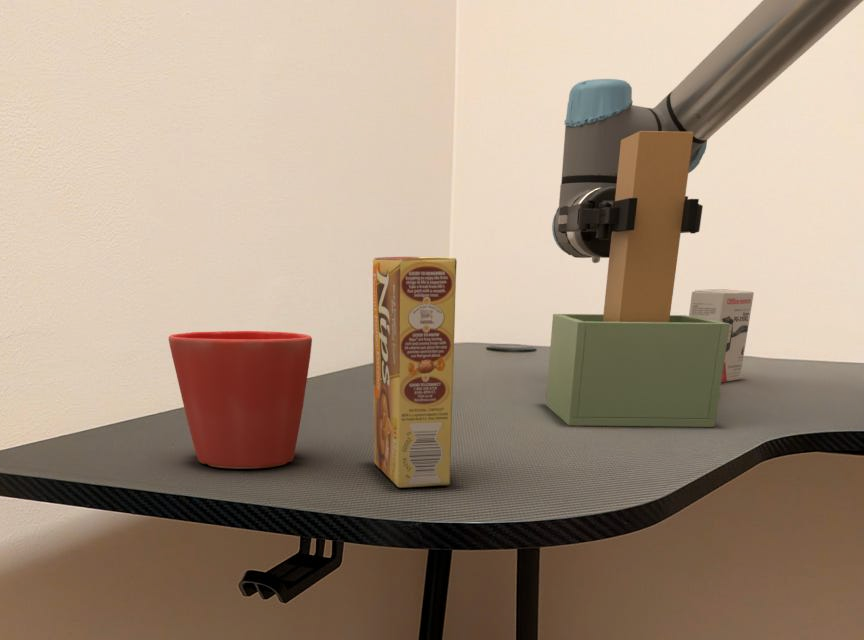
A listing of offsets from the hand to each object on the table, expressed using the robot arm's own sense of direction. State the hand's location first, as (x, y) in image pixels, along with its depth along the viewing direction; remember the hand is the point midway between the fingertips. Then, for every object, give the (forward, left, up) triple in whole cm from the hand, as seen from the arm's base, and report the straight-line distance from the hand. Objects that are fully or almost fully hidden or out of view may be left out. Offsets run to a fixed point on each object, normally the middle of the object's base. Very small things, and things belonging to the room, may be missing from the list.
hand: (662, 214), depth 84 cm
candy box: (+24, +25, -19) cm, 40 cm away
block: (0, -5, -10) cm, 11 cm away
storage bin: (0, -5, -19) cm, 20 cm away
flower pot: (+37, +20, -19) cm, 46 cm away
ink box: (-20, -37, -19) cm, 46 cm away
